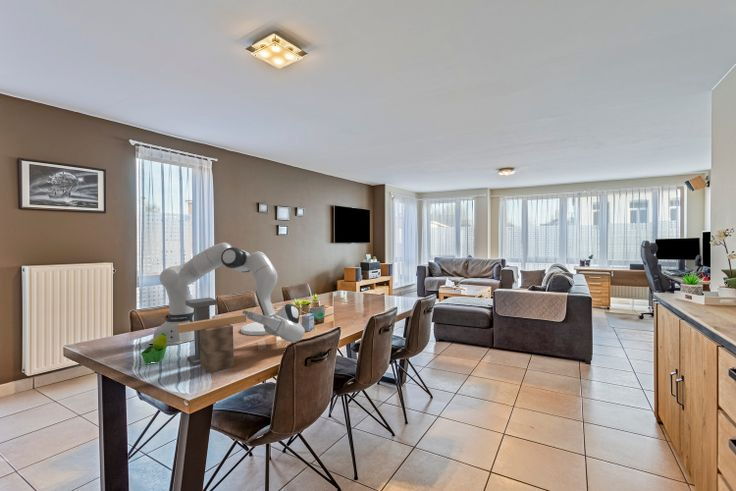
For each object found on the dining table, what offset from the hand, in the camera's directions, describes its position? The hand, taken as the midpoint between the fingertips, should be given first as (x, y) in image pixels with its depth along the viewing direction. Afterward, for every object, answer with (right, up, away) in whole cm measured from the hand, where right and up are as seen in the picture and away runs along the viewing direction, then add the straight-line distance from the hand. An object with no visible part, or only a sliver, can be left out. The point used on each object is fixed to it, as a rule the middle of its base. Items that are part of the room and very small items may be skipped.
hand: (247, 313), depth 154 cm
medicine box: (+18, -19, +48) cm, 54 cm away
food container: (+23, -18, +64) cm, 70 cm away
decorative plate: (-8, -19, +51) cm, 55 cm away
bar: (-11, -4, -9) cm, 15 cm away
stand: (-19, -20, -1) cm, 28 cm away
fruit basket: (-40, -21, +1) cm, 45 cm away
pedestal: (-10, -20, -8) cm, 24 cm away
